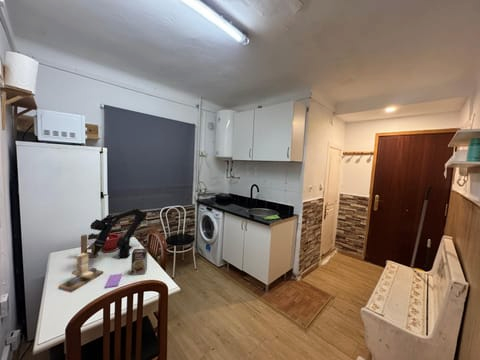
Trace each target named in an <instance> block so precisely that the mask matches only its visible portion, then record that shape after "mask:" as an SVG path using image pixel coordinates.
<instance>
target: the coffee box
mask: <svg viewBox="0 0 480 360" xmlns="http://www.w3.org/2000/svg"><path fill="white" fill-rule="evenodd" d="M148 251H149V248H134V249H133V250H132V252H131V266H130V268H131V269H130V270H131V271H130V275H131V276H139V275H146V274H147V270H148V253H149V252H148Z"/></svg>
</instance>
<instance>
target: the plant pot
mask: <svg viewBox="0 0 480 360" xmlns="http://www.w3.org/2000/svg"><path fill="white" fill-rule="evenodd" d="M120 237H121V236H120V234H116V233H109V236H108V238H107V240H106V243H105V245H104V247H103V248H102V249H101V250H100V251H101V252H103V253H113V252H115V251H116V250H117V249H118V247H117V246H116V244H117V241H118V240H119V238H120Z"/></svg>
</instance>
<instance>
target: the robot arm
mask: <svg viewBox="0 0 480 360" xmlns="http://www.w3.org/2000/svg"><path fill="white" fill-rule="evenodd" d="M132 215H135V216H134V218H133V219H134V220H133V222H132V223H131V225H130V227H129V228H128V229H127V231H126V233H125V234H124V236H123V237H121V236H120V238H119V240H118V241H117V244H116V246H117V247H118V248H117V249H118V250H119V251H118V259H128V258H129V257H130V256H131V254H130V251H131V249H132V245H130V243H131V237H132V236H133V235H134V233H135V232H136V230H137V228H138V227H139V225H140V223H142V222H144V221H145V219H147V216H148V215H147V212H145V211H141V209H138V208H135V207H132V208H129V209H127V210H125V211H120V212H118V213H109V214H107V215H106V216H105V217H104V218H102V219H101V220H100V219H95V220H93V221H92V222H91V224H90V229H91V230H95V231H100V232H98V233H90V234H88V235H87V241H88V240H89V241H90V240H95V241H94V242H93V243H94V246H95V249H94V253H93V255H96V254H97V253H98V254H99V252H100V251H102V250H101V249H102V248H103V247H104V245H105V243H106V240H107V239H109V237H108V236H109V234H111V231H112V229H113V228H116V227H117V226H116V223H118V222H119V221H120V220H122V219H123V218H127V217H130V216H132Z"/></svg>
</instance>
